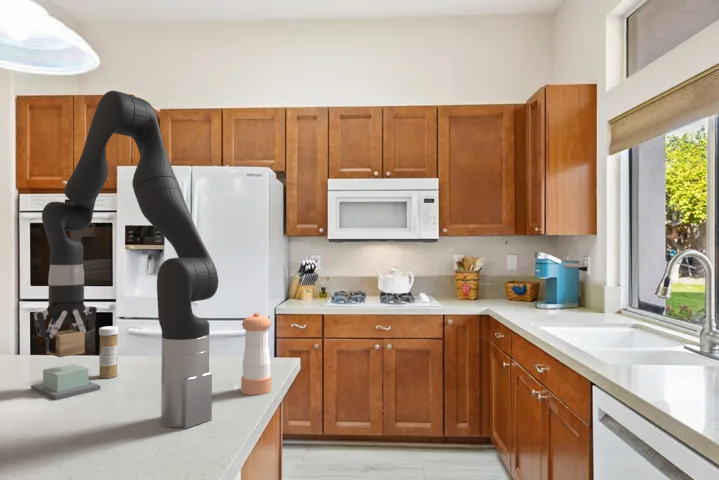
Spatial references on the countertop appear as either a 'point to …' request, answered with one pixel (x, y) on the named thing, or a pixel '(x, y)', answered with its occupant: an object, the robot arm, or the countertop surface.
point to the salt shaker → (256, 356)
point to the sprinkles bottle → (108, 351)
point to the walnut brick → (69, 343)
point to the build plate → (66, 392)
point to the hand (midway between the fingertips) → (65, 350)
